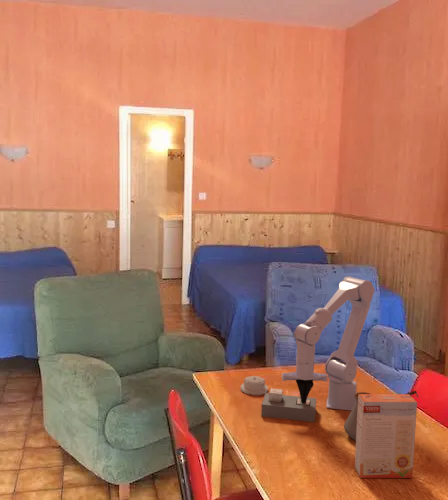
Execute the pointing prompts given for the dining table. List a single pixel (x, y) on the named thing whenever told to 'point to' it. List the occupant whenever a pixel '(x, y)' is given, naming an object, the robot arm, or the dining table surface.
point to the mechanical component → (254, 386)
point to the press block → (289, 408)
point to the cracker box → (385, 435)
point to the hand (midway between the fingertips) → (303, 401)
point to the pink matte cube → (303, 403)
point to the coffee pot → (351, 421)
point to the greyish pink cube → (275, 395)
